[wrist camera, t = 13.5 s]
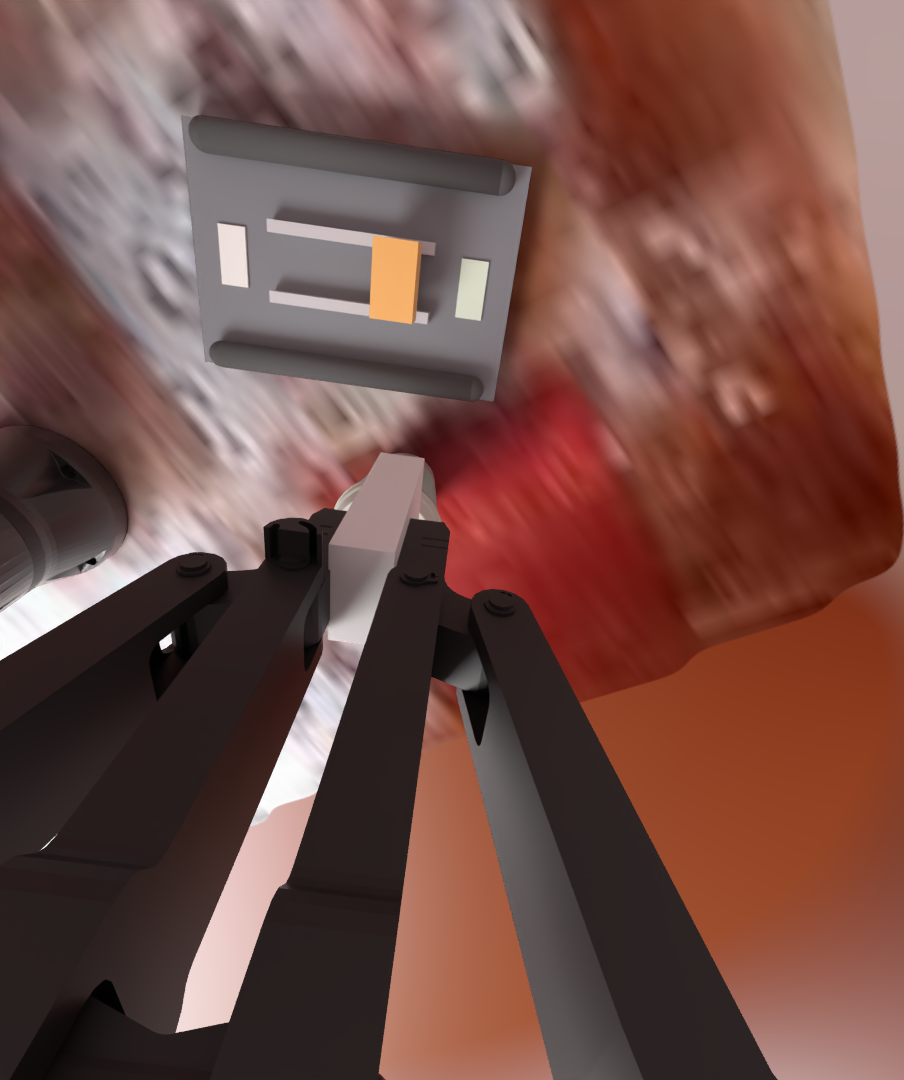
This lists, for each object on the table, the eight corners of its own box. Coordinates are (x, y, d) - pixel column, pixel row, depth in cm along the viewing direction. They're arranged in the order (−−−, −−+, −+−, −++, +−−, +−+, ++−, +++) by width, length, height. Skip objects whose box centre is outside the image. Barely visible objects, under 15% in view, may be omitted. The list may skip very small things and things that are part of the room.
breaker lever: (380, 313, 39) (369, 317, 35) (384, 239, 37) (372, 235, 33) (418, 318, 39) (411, 324, 36) (425, 245, 37) (418, 241, 33)
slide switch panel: (216, 357, 44) (198, 363, 41) (195, 123, 36) (171, 110, 33) (493, 396, 44) (493, 405, 41) (529, 172, 36) (533, 163, 34)
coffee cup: (347, 448, 47) (308, 499, 36) (437, 429, 46) (424, 476, 35) (374, 529, 51) (346, 597, 40) (458, 514, 49) (451, 580, 39)
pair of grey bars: (217, 363, 42) (205, 367, 40) (195, 117, 34) (180, 109, 33) (481, 400, 42) (481, 405, 40) (517, 165, 35) (519, 159, 33)
